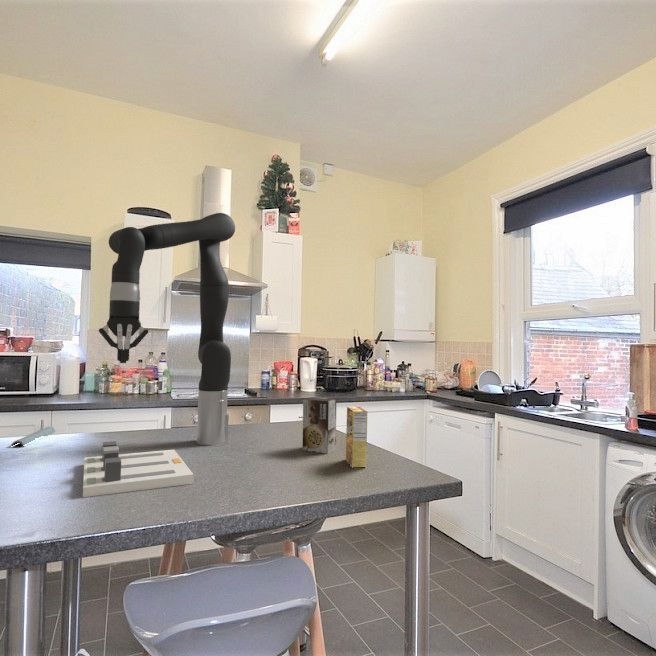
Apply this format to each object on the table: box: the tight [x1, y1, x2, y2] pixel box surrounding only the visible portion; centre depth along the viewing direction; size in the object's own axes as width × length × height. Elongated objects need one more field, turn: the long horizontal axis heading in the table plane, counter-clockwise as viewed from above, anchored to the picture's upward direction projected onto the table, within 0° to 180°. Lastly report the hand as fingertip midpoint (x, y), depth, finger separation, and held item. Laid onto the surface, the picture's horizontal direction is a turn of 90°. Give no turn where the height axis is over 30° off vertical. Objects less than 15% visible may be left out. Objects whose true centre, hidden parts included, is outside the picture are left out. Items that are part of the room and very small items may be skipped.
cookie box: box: [301, 396, 337, 454], centre depth 135 cm, size 9×6×16 cm
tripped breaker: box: [102, 445, 120, 470], centre depth 102 cm, size 3×4×4 cm
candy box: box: [345, 406, 368, 469], centre depth 120 cm, size 9×4×15 cm, turn 10°
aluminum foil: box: [10, 425, 56, 447], centre depth 136 cm, size 23×7×3 cm, turn 12°
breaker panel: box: [82, 440, 194, 498], centre depth 105 cm, size 22×26×6 cm
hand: (122, 362), depth 119 cm, fingers closed
